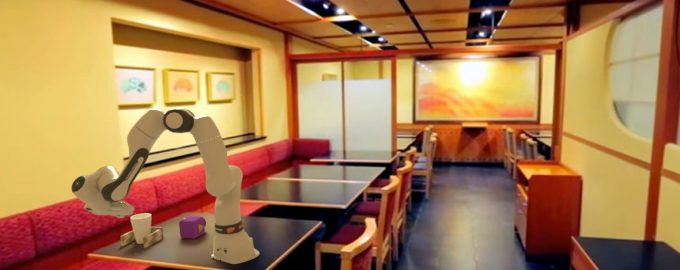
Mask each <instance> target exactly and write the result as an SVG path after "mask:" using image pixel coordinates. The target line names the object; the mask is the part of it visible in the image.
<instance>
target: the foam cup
mask: <svg viewBox="0 0 680 270" xmlns="http://www.w3.org/2000/svg"><path fill="white" fill-rule="evenodd" d="M130 223H131V227H132V230H133V231H134V235H135V239H136V240H135V242H136V244H141V245H142V244H144V243H143V237H145V236H147V235H149V234H150V233H151V227H152V214H151V213H149V212H148V213H147V212H145V213H137V214H134V215H131V216H130Z"/></svg>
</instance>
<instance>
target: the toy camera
mask: <svg viewBox="0 0 680 270" xmlns="http://www.w3.org/2000/svg"><path fill="white" fill-rule="evenodd" d="M206 225H207V220H206V219H205V218H204V217H203V216H199V215H198V216H197V215H188V216H186V217H183V218H182V219H180V221H179V222H178V227H179V236H180V238H181V239H194V240H195V239H197V238H199V237H200V236H202V235H203V234H205V233H206Z"/></svg>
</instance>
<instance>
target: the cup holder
mask: <svg viewBox="0 0 680 270" xmlns="http://www.w3.org/2000/svg"><path fill="white" fill-rule="evenodd" d="M163 228H164V227H161V226H151V233H150V234H149V235H147V236H145V237H143V243H142V244H143V248H144V249H146V248H148V247H150V246H152V245H153V244H156V243H157V242H159V241H161V240H162V239H164V230H163ZM119 237H120V246H121V247H124V246H126V245H129V244H131V243H132V242H134V241H136V239H135V235H134V231H133V229H132V230H131V231H128V232H126V233H124V234H122V235H120V236H119Z"/></svg>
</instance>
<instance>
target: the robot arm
mask: <svg viewBox="0 0 680 270" xmlns="http://www.w3.org/2000/svg"><path fill="white" fill-rule="evenodd" d="M165 131H169V132H171V133H173V134H185V133H189V134H191V135H192V138H193V139H194V142H195V144H196V147H197V149H198V151H199V154H200V156H201V159H202V162H203V167H204V173H205V189H206V191H207V193H208V194H209V195H211V196H212V197H215V204H214V219H215V222H214V231H215V235H214V237H213V240H212V241H213V244H212V246H213V248H212V250H213V251H212V252H213V253H212V254H211V255H210V258H211V259H213V258H214V260H217V261H220V260H221V262H224V263H227V264H232V265H237V264H241V263H242V264H243V263H246V262H248V261H251V260H253V259H255V258H258V257H259V256H260V251H259V250H258V249H256V248H255V246H254V240H253V239H254V238H253V237H250V236H249V234H248V233H247V232H246V231H245V229H244V227H245V225H244V223H243V221H242V217H241V205H240V204H241V202H240V201H241V192H242V181H243V175H244V174H243V171H242V169H241V168H240V167H239V166H237V165H232V164H229V162H228V149H227V147H226V146H225V143H224V140H223V137H222V135H221V133H220V131H219V128H218V127H217V125H216V123H215V122H214V120H213V118H212V117H210V116H208V115H199V116H195V114H194V113H193V112H192V111H191V110H189V109H186V108H183V107H174V108H170V109H168V110H167V111H165V112H164V111H163V110H162V109H159V108H151V109H148V111H146V112H145V113H144V114H143V115H142V116H141V117H140V118H139V119H138V120H137V121H136V122H135V124H134V125H133V126H132V127H131V129H130V130H129V132H128V134H127V136H126V142H127V145H128V146H127V147H128V155H129V156H128V160H127V161H126V164H125V165H124V167H123V168H122V170H121V171H120V172H119V171H118V169H117V168H116V167H114V166H112V165H111V166H110V165H105V166H103V167H100V168H99V169H97V170H96V171H94V172H92V173H90V174H87V175H80V176H78V177H76V178H75V179H74V180H73V182H72V184H71V193H72V194H73V195H74V196H75V197H76V198H77V199H79V200H80V202H82V203H84V206H83V209H84V210H85V211H88V212H90V213H92V214H93V215H96V216H113V217H116V218H117V219H124V218H125V217H126V216H133V212H134V210H135V207H134V206H133V205H131V204H130V203H129V202H126V201H124V199H126V197H127V196H128V195H129V193H130V191H131V187H132V185H133V183H134V182H135V180H136V178H137V177H138V176H139V174H140V172H141V170H142V169H143V167H144V166H145V164H146V162H147V160H148V158H149V155H150V153H151V150H152V148H153V146H154V145H155V143H156V142H157V140H158V139H159V138H160V136H161V135H162V134H163V133H164V132H165Z"/></svg>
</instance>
